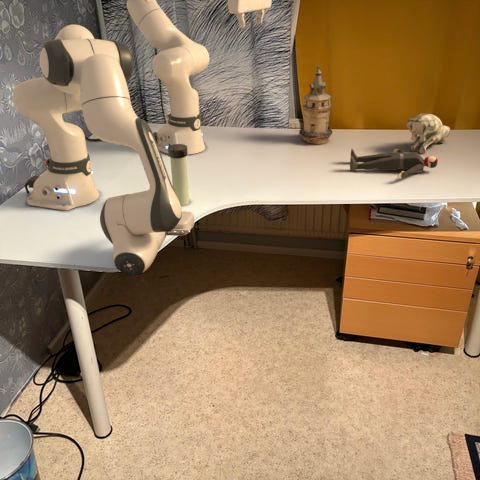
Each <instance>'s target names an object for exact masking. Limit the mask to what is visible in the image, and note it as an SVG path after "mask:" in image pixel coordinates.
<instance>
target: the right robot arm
mask: <svg viewBox="0 0 480 480" xmlns="http://www.w3.org/2000/svg"><path fill="white" fill-rule="evenodd" d="M272 2H273V1H272V0H227V9H228V13H230V14H232V15H236V19H237V21H238V28H239V29H245V28H247V22H246V21H245V18H244V17H245V13H250V12H255V11H256V13H257V15H256V18H255V19H254V21H255V23H254V24H255V25H262V24H263V18H264V15H265V10H266V9H270V8H271V6H272ZM126 9H127V12H128V13H129V15H130V18H131V19H132V21H133V22H134V24H135V26H136V27H137V28H138V30H139V31H140V33H141V34H142V35H143V37H144V38H145V39H146V41H147V42H148V43H149V45H150V46H151V47H153V48H154V49H157V50H159V51H160V52H159V53H156V54H155V55H154V57H153V59H152V63H151V65H152V71H153V73H154V75H155V77H156V78H157V79H159V80H160V81H161V82H162V83H163V85H164V87H165V88H166V90H167V94H168V99H169V106H170V107H169V108H170V109H169V110H170V113H168V114H167V115H165V119H166V120H167V123H166V124H164V125H163V126H162V127H161V128H160V129H158V130H157V131H154V132H152V133H153V135H154V137H155V140H156V142H157V145H158V148H159V151H160V152H161V153H164V154H167V155H168V146H170V145H174V144H184V145H186V146H187V151H188V155H194V154H199V153H201V152H204V151H205V149H206V145H205V142H204V139H203V138H204V137H203V135H204V133H203V132H202V127H201V126H202V115H201V112H200V100H199V99H200V98H199V97H200V95H199V92H198V91H197V90H196V89H195V88H194V87H192V86H191V83H190V77H191V76H194V75H197V74H199V73H201V72H203V71H204V70H205V69H207V68H208V66H209V64H210V53H209V51H208V50H207V48H206V47H205V46H204V45H202V44H200V43H198V42H195V41H194V40H192V39H191V38H189V37H188V36H187V35H186V34H184V33H183V32H182V31H180V29H178V28H177V27H176V26H175V25H174V23H173V22H172V21H171V19H170V18H169V17H168V16H167V14H166V13H165V12H164V10H163V9H162V8H161V7H160V5H159V4H158V2H157V0H126ZM85 141H88V142H100V141H101V142H103V140H100V139H98V138H89V137H87V136H85Z"/></svg>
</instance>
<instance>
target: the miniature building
mask: <svg viewBox="0 0 480 480" xmlns="http://www.w3.org/2000/svg"><path fill="white" fill-rule="evenodd" d="M320 67H321V66H320V65H317V66H316V68H317V69H316V71H315V72H314V75H315V76H314V79H313V81H312V83H310V84H309V85H308V86H309V93H307V94H306V95H304V96H303V97H302V98H303V105H301V106H302V109H303V114H302V115H303V124H302V127H300V129H299V132H298V134H299V136H300V137H302V139H303V141H305V142H307V143H309V144H314V145H320V144H321V145H322V144H325V143H326V142H327V141H328V140H329V139H330V137H332V135H333V129H331V125H329V120H330V115H331V108H332V106H333V105H332V104H331V98H332V96H331V95H330V94H328V93H326V81H324V82H323V78H322V71H321V70H320Z"/></svg>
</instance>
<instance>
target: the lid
mask: <svg viewBox="0 0 480 480" xmlns="http://www.w3.org/2000/svg"><path fill="white" fill-rule="evenodd" d="M167 155H168V157H169V158H170V157H171V158H183V157H186V158H187V156H188V155H189V154H188V151H187V146H186V145H184V144H174V145H170V146H168V154H167Z"/></svg>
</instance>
